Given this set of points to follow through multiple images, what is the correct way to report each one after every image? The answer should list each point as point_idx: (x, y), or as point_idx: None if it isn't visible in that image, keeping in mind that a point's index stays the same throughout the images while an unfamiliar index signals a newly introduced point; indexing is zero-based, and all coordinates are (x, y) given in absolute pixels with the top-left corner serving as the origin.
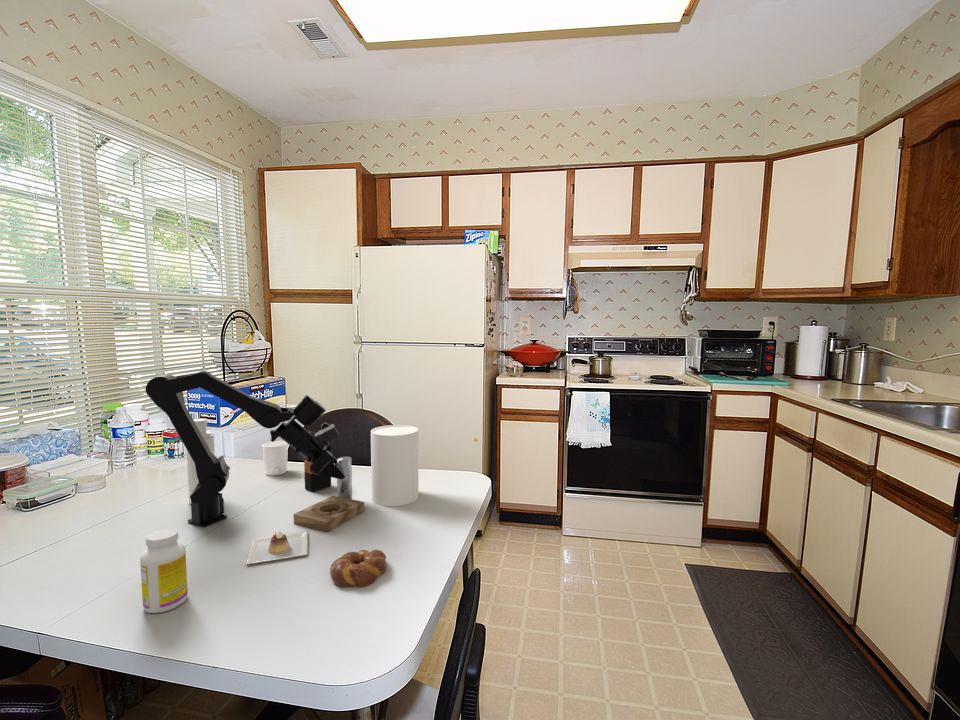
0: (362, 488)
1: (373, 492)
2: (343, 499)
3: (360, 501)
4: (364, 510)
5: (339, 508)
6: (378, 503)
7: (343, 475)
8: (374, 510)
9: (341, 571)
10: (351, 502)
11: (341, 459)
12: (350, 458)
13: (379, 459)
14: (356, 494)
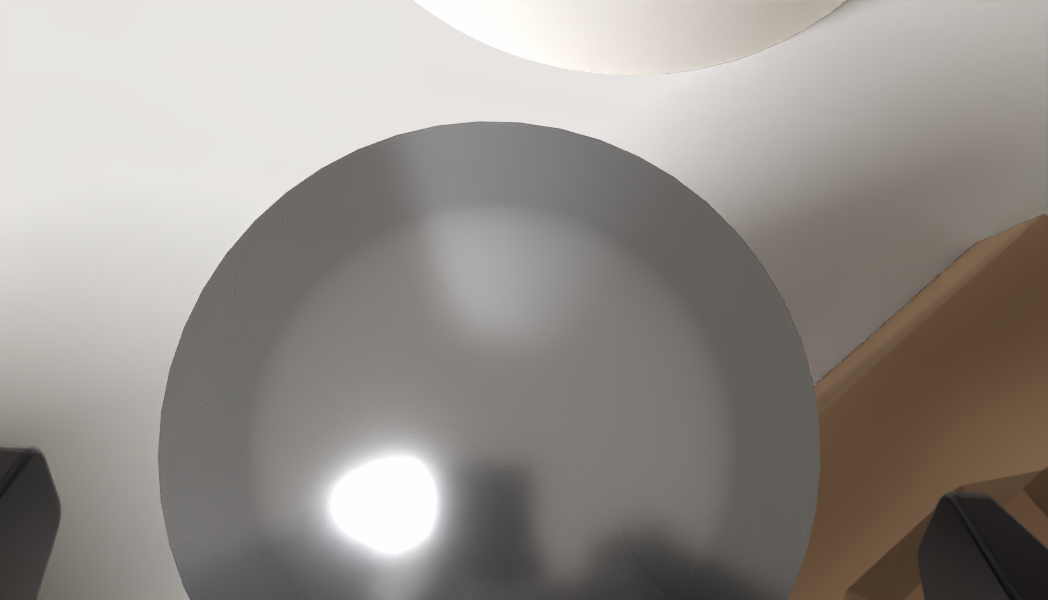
0: (50, 104)
1: (737, 3)
2: None
3: (997, 265)
4: (981, 242)
5: None
6: (815, 18)
7: (1032, 543)
8: (993, 117)
9: None
10: (988, 405)
11: (591, 575)
12: (593, 173)
13: None
14: None
